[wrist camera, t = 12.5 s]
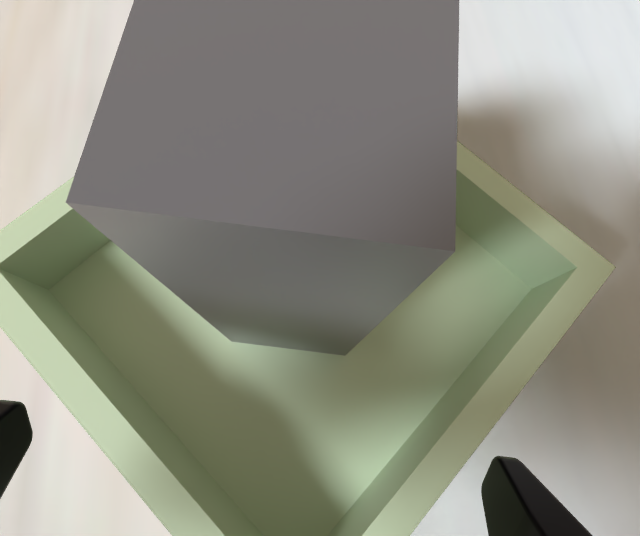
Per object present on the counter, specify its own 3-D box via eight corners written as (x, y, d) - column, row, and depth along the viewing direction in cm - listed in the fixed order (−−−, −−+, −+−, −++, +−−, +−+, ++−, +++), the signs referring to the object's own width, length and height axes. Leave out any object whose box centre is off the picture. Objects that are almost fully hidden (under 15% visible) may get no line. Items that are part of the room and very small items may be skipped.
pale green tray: (296, 609, 14) (295, 684, 11) (27, 295, 17) (-50, 266, 13) (550, 294, 18) (615, 267, 15) (297, 82, 21) (297, 13, 17)
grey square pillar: (345, 355, 16) (455, 251, 5) (231, 341, 16) (65, 202, 5) (357, 231, 18) (460, -68, 6) (253, 218, 18) (171, -107, 6)
